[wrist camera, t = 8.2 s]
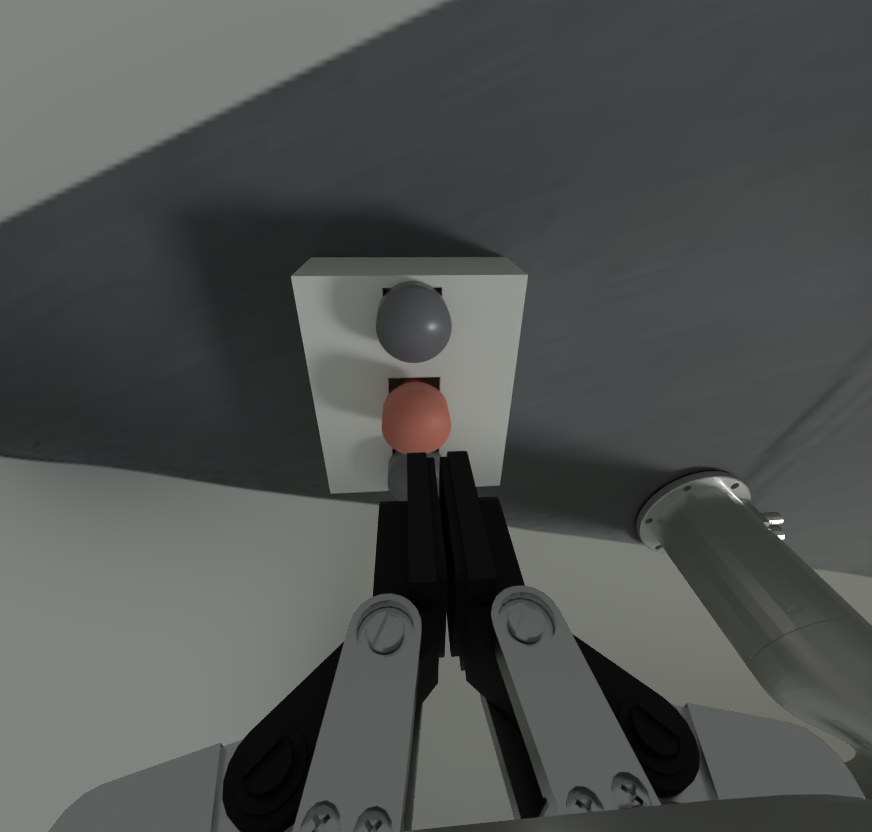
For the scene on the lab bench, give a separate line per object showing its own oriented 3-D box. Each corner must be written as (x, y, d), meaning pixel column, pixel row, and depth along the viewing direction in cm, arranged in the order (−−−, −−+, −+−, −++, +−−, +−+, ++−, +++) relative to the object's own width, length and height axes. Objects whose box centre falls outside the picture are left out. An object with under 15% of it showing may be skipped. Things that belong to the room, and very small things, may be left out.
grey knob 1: (443, 268, 26) (452, 289, 21) (441, 331, 28) (450, 362, 24) (377, 268, 26) (372, 289, 21) (381, 332, 28) (378, 363, 23)
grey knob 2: (440, 418, 32) (447, 459, 28) (439, 459, 35) (445, 503, 30) (387, 420, 32) (385, 461, 27) (390, 461, 34) (389, 506, 30)
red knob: (443, 359, 28) (452, 396, 23) (442, 411, 30) (450, 453, 26) (382, 360, 27) (379, 398, 23) (386, 412, 30) (383, 456, 25)
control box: (504, 256, 28) (527, 274, 23) (486, 443, 37) (499, 485, 32) (311, 257, 27) (290, 276, 22) (340, 449, 36) (330, 493, 31)
